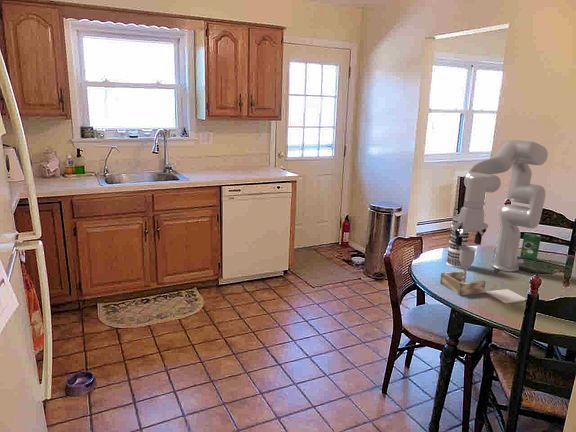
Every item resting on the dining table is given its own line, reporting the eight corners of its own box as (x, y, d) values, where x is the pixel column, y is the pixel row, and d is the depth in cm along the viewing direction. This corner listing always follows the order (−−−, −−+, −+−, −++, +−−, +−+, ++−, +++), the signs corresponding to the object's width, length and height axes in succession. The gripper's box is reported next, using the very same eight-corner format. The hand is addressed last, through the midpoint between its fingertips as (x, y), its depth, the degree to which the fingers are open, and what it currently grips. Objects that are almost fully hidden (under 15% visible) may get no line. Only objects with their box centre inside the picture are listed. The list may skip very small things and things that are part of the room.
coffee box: (537, 258, 236) (541, 234, 233) (537, 260, 234) (541, 236, 231) (520, 255, 240) (524, 232, 237) (519, 257, 238) (523, 233, 235)
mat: (507, 290, 194) (507, 288, 193) (527, 300, 183) (527, 299, 183) (486, 292, 190) (486, 291, 190) (505, 303, 180) (506, 302, 180)
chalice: (451, 284, 198) (456, 245, 194) (466, 284, 199) (471, 245, 194) (459, 291, 191) (464, 251, 187) (474, 291, 192) (479, 251, 187)
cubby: (463, 280, 203) (464, 270, 201) (484, 292, 190) (485, 281, 189) (440, 283, 199) (441, 272, 198) (459, 295, 187) (461, 284, 185)
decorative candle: (460, 261, 228) (466, 214, 222) (468, 268, 219) (474, 218, 213) (442, 261, 228) (448, 213, 222) (449, 267, 219) (455, 218, 213)
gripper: (484, 202, 192) (478, 241, 196) (450, 203, 187) (445, 242, 191) (497, 206, 185) (490, 246, 189) (462, 207, 180) (456, 248, 184)
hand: (467, 244), depth 190 cm, fingers open, 9 cm apart
